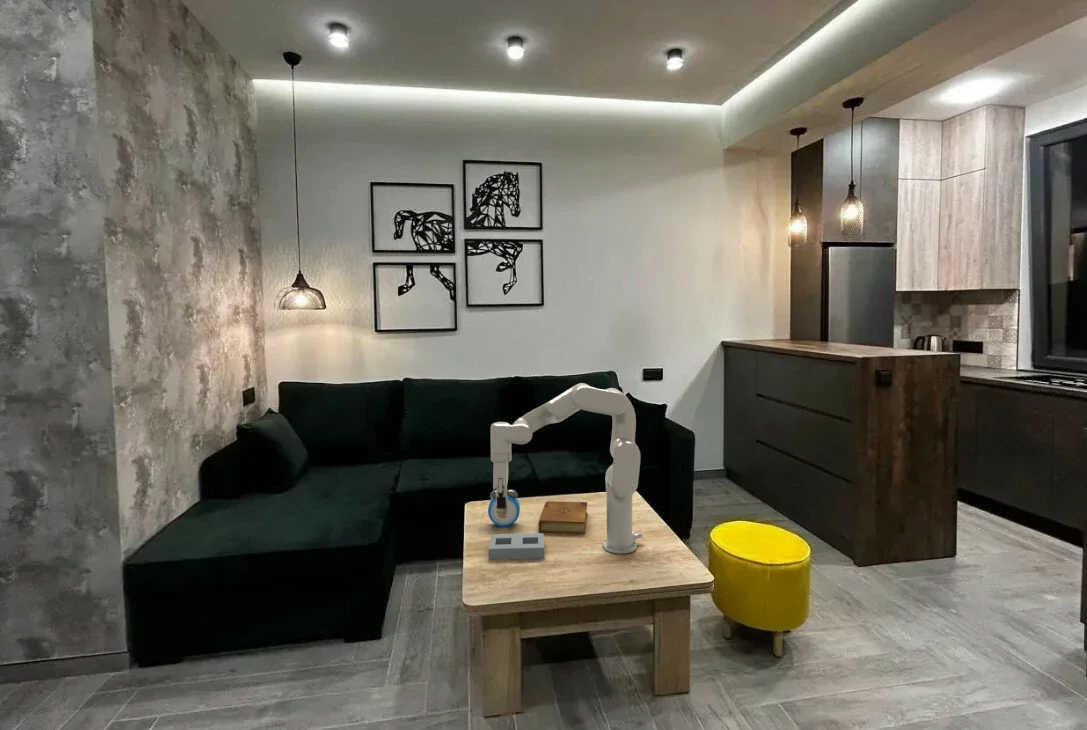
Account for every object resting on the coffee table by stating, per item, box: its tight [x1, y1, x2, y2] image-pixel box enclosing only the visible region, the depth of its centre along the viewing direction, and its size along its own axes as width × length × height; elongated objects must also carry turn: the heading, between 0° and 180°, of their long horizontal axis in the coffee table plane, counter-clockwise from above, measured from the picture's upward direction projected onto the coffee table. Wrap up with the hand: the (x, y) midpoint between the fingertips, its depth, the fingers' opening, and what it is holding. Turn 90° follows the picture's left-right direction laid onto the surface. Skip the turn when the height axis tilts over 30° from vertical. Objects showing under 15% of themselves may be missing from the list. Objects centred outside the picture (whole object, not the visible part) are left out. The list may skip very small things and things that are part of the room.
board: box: [488, 532, 545, 561], centre depth 202 cm, size 20×13×4 cm, turn 91°
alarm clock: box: [487, 488, 521, 528], centre depth 228 cm, size 13×6×15 cm, turn 91°
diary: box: [537, 500, 588, 535], centre depth 229 cm, size 23×19×6 cm
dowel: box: [495, 487, 508, 519], centre depth 200 cm, size 4×4×12 cm
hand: (501, 504), depth 201 cm, fingers closed on dowel, 4 cm apart
